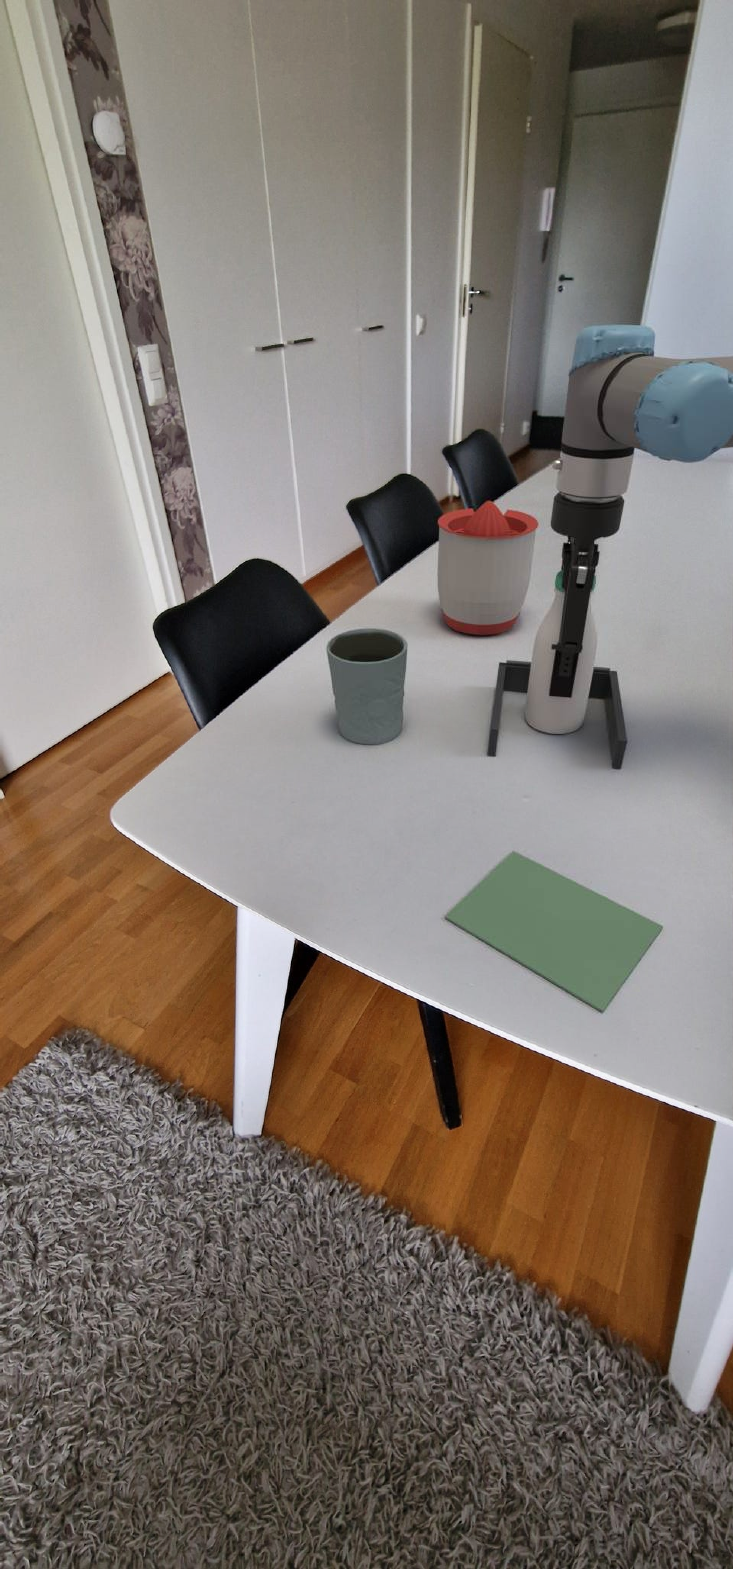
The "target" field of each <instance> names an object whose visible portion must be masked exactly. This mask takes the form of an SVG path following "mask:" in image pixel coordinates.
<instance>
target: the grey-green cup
mask: <svg viewBox="0 0 733 1569" xmlns="http://www.w3.org/2000/svg"><path fill="white" fill-rule="evenodd" d="M408 647H409V646H408V642H407V640H406V639H405V638H404V636H402V635H401V634H399V633H397V632H395V631H391V630H388V629H382V628H371V627H369V628H367V627H366V628H356V629H350V630H347V631H344V632H340V633H338V634H336V635H335V636H333V637H331V638H330V640H329V641H328V642H327V644H326V655H327V661H328V668H329V672H330V680H331V687H332V693H333V696H334V706H335V707H334V708H335V712H336V720H337V727H338V732H339V734H340V736H341V737H343V739H344V740H345V739H346V741H348V742H352V743H355V744H360V745H369V746H370V745H380V744H384V743H385V744H386V743H388V742H391V741H392V740H394V739H396V738H397V737H398V736H399V735H401V734H400V733H401V732H402V730H403V723H404V698H405V682H406V673H407V662H408V661H407V659H408Z"/></svg>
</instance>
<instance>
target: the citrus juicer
mask: <svg viewBox="0 0 733 1569" xmlns="http://www.w3.org/2000/svg"><path fill="white" fill-rule="evenodd" d="M437 525H438V528H439V529H438V533H439V534H438V550H437V575H436V576H437V592H438V600H439V603H440V607H441V613H442V617H443V618H444V621H445V623H446V625H447V626H448V627H449V628H451V629H453V630H454V631H455V632H461V633H464V634H468V635H475V636H476V635H477V636H488V635H500V634H503V633H504V632H506V631H509V630H511V628H513V627H514V625H515V623H516V622H517V620H518V618H519V616H520V614H521V610H522V608H523V605H524V602H525V600H526V597H527V593H528V590H529V585H530V580H531V573H532V565H533V557H534V550H535V541H536V533H537V532H536V531H537V529H538V528H539V521H538V520H537V519H536V517H534V516H533V515H531V514H528V513H526V512H522V511H519V510H513V509H506V511H505V512H504V514H503V513H502V511H501V510H500V508H499V507H498V506H497V504H495V503H494V502H493V501H491V500H486V501H485V502H484V503H482V505H481V506H479V507H478V509H476V510H475V511H474V509H473V508H462V509H457V510H453V511H449V512H447V513H444V514H442V515H441V516H439V518H438V519H437Z"/></svg>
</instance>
